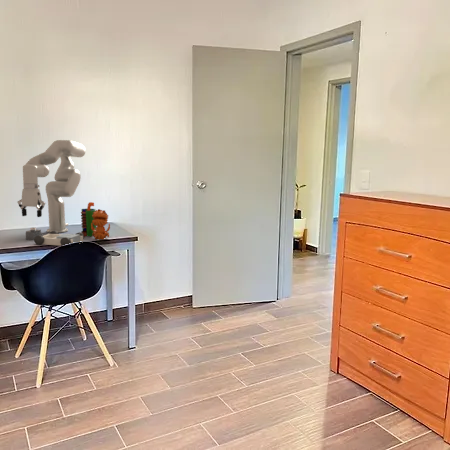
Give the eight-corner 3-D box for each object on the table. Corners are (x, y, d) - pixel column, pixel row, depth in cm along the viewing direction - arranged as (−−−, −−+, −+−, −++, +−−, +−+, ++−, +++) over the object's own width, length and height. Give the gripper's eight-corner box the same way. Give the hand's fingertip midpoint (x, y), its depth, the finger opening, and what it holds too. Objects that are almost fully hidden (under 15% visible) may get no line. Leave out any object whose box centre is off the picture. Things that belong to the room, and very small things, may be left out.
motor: (77, 234, 274) (76, 202, 270) (91, 232, 280) (90, 201, 277) (86, 237, 267) (85, 204, 263) (99, 235, 273) (98, 202, 270)
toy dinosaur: (88, 240, 258) (87, 209, 255) (94, 236, 269) (93, 207, 266) (107, 240, 258) (106, 210, 255) (112, 237, 268) (111, 207, 265)
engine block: (33, 237, 263) (33, 226, 262) (41, 238, 262) (40, 227, 261) (26, 239, 256) (25, 228, 255) (33, 240, 255) (33, 229, 254)
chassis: (50, 238, 260) (50, 230, 259) (85, 241, 256) (84, 232, 255) (33, 244, 245) (33, 235, 244) (69, 247, 240) (69, 238, 239)
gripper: (48, 186, 255) (49, 216, 258) (21, 185, 259) (22, 214, 262) (40, 187, 248) (41, 218, 251) (12, 186, 252) (14, 216, 254)
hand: (31, 216), depth 256 cm, fingers open, 9 cm apart
